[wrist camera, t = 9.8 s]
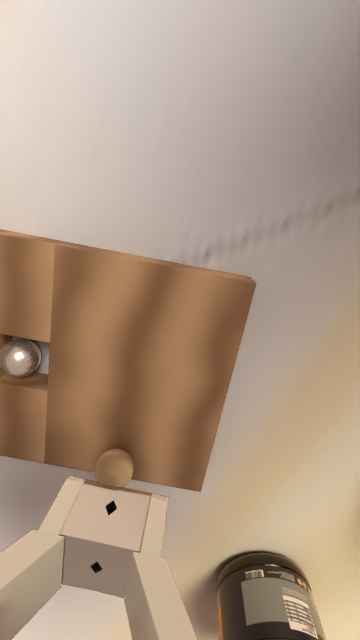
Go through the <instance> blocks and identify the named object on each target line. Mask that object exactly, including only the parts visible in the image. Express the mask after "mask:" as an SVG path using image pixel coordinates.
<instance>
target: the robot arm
mask: <svg viewBox="0 0 360 640" xmlns="http://www.w3.org/2000/svg"><path fill="white" fill-rule="evenodd" d="M150 498H151V499H150ZM168 502H169V499H168V497H166V496H161V495H156V494H152V495H151V493H148V492H143V491H138V490H133V489H128V488H123V487H115V486H111V485H107V484H103V483H99V482H95V481H91V480H86V479H82V478H77V477H73V476H69V477H68V478H67V479H66V480H65V482H64V484H63V486H62V487H61V489H60V491H59V493H58V495H57V496H56V498H55V500H54V502H53V504H52V506H51V507H50V509H49V511H48V513H47V515H46V517H45V518H44V520H43V522H42V524H41V526H40V528H39V529H38V530H33V529H32V530H31V531H30V532H28V533H27V534H25V535H24V536H23V537H21V538H20V539H19V540H17V541H16V542H14V543H13V544H12V545H10V546H9V547H7V548H6V549H5V550H3V551H2V552H1V553H0V640H12V639H13V638H14V636H15V635H16V634H17V633H18V632H19V631H20V630H21V629H22V628H23V627H24V626H25V625H26V624H27V623H28V622H29V620H30V619H31V618H32V617H33V616H34V615H35V614H36V613H37V612H38V611H39V610H40V609H41V608H42V607H43V606H44V605H45V603H46V602H47V601H48V600H49V599H50V598H51V597H52V596H53V595H54V594H55V593H56V592H57V591H58V590H59V589H60V588H61V584H63V585H68V586H74V587H79V588H84V589H90V590H95V591H98V592H102V593H106V594H110V595H114V596H118V597H122V598H125V600H124V601H125V605H126V610H127V615H128V620H129V625H130V630H131V635H132V640H197V637H196V635H195V632H194V630H193V627H192V624H191V622H190V619H189V617H188V614H187V611H186V609H185V606H184V604H183V601H182V598H181V596H180V593H179V591H178V588H177V585H176V583H175V580H174V578H173V575H172V572H171V570H170V567H169V565H168V562H167V559H165V558H162V557H161V553H162V545H163V538H164V531H165V524H166V517H167V509H168Z"/></svg>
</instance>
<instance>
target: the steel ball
mask: <svg viewBox="0 0 360 640" xmlns="http://www.w3.org/2000/svg"><path fill="white" fill-rule="evenodd" d="M40 361H41V352H40V349H39V348H38V346H37V345H36V344H35V343H34V342H32V341H30V340H27V339H15V340H12V341H10V342H8V343H7V344H5V345H4V346H3V347H2V349H1V351H0V367H1V368H2V370H3V371H4V372H5V373H7V374H9V375H11V376H16V377H21V376H26V375H29V374H31V373H32V372H33V371H35V370H36V369H37V367H38V366H39V364H40Z"/></svg>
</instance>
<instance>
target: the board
mask: <svg viewBox="0 0 360 640" xmlns="http://www.w3.org/2000/svg"><path fill="white" fill-rule="evenodd" d="M255 286H256V283H255V282H254V281H253V280H252V279H251V278H250V277H246V276H240V275H235V274H230V273H225V272H220V271H214V270H209V269H204V268H199V267H193V266H188V265H183V264H178V263H173V262H167V261H162V260H157V259H152V258H146V257H141V256H136V255H131V254H126V253H120V252H115V251H110V250H105V249H99V248H94V247H89V246H84V245H79V244H73V243H68V242H63V241H58V240H52V239H47V238H42V237H37V236H32V235H26V234H21V233H16V232H11V231H5V230H0V351H1V349H2V347H3V346H4V345H5V344H7V343H8V342H10V341H12V336H16V337H21V338H26V339H32V340H37V341H42V342H48V343H50V353H49V374H48V375H47V374H42V373H37V372H32V373H31V374H29V375H26V376H21V377H16V376H11V375H9V374H7V373H5V372H4V371H3V370H2V368H1V367H0V455H1V456H7V457H12V458H18V459H23V460H29V461H34V462H40V463H45V464H51V465H56V466H62V467H67V468H73V469H78V470H84V471H89V472H95V467H96V463H97V461H98V459H99V458H100V456H101V455H102V454H103V453H104V452H106V451H108V450H110V449H122V450H124V451H126V452H127V453H128V454H129V455H130V457H131V458H132V461H133V474H132V477H131V479H133V480H138V481H144V482H149V483H155V484H160V485H166V486H171V487H177V488H182V489H188V490H193V491H199V492H201V488H202V484H203V480H204V477H205V473H206V469H207V465H208V462H209V458H210V454H211V451H212V447H213V443H214V439H215V436H216V432H217V428H218V424H219V421H220V417H221V413H222V409H223V406H224V402H225V398H226V394H227V391H228V387H229V383H230V379H231V376H232V372H233V368H234V365H235V361H236V357H237V353H238V350H239V346H240V342H241V338H242V335H243V331H244V327H245V323H246V320H247V316H248V312H249V308H250V305H251V301H252V297H253V293H254V290H255Z"/></svg>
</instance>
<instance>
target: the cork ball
mask: <svg viewBox="0 0 360 640" xmlns="http://www.w3.org/2000/svg"><path fill="white" fill-rule="evenodd" d="M132 474H133V461H132V458H131V457H130V455H129V454H128V453H127V452H126V451H124V450H122V449H110V450H108V451H106V452H104V453H103V454H102V455H101V456H100V458H99V459H98V461H97V463H96V467H95V476H96V480H97V482H99V483H103V484H107V485H111V486H115V487H124V486H125V485H126V484H127V483H128V482H129V481H130V479H131V477H132Z"/></svg>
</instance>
